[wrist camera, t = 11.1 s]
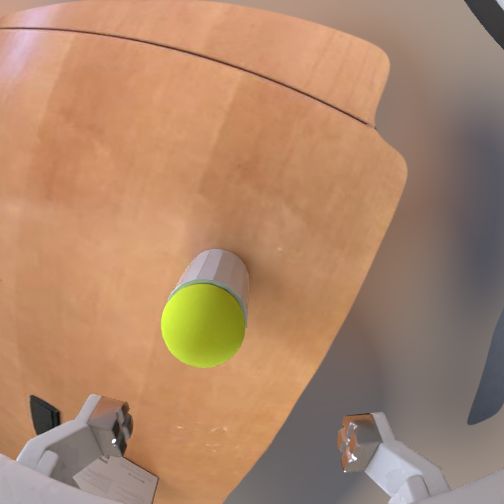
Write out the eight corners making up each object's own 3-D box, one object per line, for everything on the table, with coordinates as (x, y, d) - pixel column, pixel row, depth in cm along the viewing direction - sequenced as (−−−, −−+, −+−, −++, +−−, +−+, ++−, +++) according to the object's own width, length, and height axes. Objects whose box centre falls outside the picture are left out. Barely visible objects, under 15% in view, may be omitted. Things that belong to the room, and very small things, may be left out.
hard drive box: (77, 446, 44) (39, 521, 25) (91, 434, 42) (49, 518, 23) (142, 486, 47) (120, 563, 28) (161, 478, 45) (140, 563, 26)
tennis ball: (169, 270, 26) (146, 302, 20) (247, 273, 26) (246, 308, 20) (173, 337, 28) (156, 380, 22) (244, 341, 28) (243, 386, 22)
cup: (186, 247, 33) (162, 276, 24) (250, 249, 33) (248, 280, 24) (188, 305, 35) (168, 348, 26) (248, 308, 35) (246, 354, 26)
